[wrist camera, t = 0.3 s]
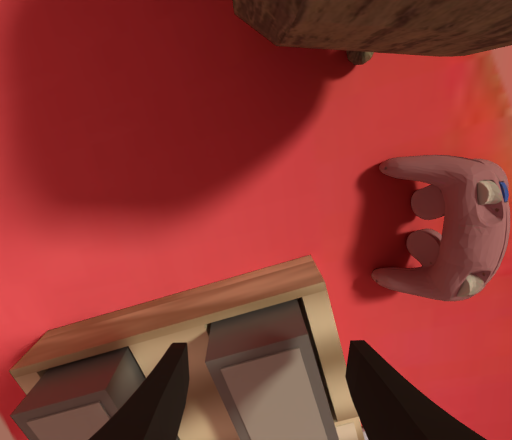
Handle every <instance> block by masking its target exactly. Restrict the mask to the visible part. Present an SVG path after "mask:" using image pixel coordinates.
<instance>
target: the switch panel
mask: <svg viewBox="0 0 512 440" xmlns="http://www.w3.org/2000/svg"><path fill="white" fill-rule="evenodd" d="M293 299H297V301H298V304H299V307H300V310H301V314H302V317H303V320H304V323H305V326H306V330H307V333H308V336H309V339H310V343H311V346H312V350H313V353H314V356H315V360H316V363H317V367H318V370H319V373H320V377H321V380H322V384H323V387H324V390H325V394H326V397H327V401H328V404H329V407H330V411H331V414H332V418H333V421H334V424H335V428H336V431H337V435H338V438H339V440H365V439H364V435H363V431H362V427H361V423H360V419H359V416H358V414H357V411H356V409H355V406H354V404H353V402H352V398H351V395H350V392H349V388H348V385H347V381H346V378H345V375H346V364H345V360H344V356H343V352H342V348H341V344H340V340H339V336H338V332H337V328H336V324H335V320H334V316H333V312H332V308H331V304H330V300H329V296H328V292H327V289H326V285H325V281H324V279H323V277H322V275H321V274H320V272H319V270H318V268H317V266H316V264H315V262H314V260H313V259H312V257H311V255H308V256H305V257H301V258H298V259H294V260H291V261H287V262H284V263H280V264H277V265H274V266H270V267H267V268H263V269H260V270H256V271H253V272H249V273H246V274H242V275H239V276H235V277H232V278H229V279H225V280H222V281H218V282H215V283H211V284H208V285H204V286H201V287H197V288H194V289H191V290H187V291H184V292H180V293H177V294H173V295H170V296H166V297H163V298H159V299H156V300H152V301H149V302H146V303H142V304H139V305H135V306H132V307H128V308H125V309H121V310H118V311H114V312H111V313H108V314H104V315H101V316H97V317H94V318H90V319H87V320H83V321H80V322H76V323H73V324H70V325H66V326H63V327H59V328H56V329H52V330H49V331H47V332H46V333H45V334H44V335H43V336H42V337H41V338H40V339H39V340H38V342H37V343H36V344H35V345H34V346H33V347H32V348H31V349H30V350H29V351H28V352H27V353H26V354H25V355H24V356H23V357H22V358H21V359H20V360H19V361H18V362H17V363H16V364H15V365H14V366H13V367H12V368H11V369H10V370H9V372H10V374H11V375H12V376H13V378H14V379H15V380H16V382H17V383H18V384H19V386H20V387H21V388H22V390H23V391H24V392H25V394H26V395H27V394H28V393H29V392H30V391H31V389H32V388H33V387H34V386H35V384H36V383H37V382H38V381H39V380H40V378H41V377H42V376H43V375H44V373H45V372H46V371H47V370H48V369H49V368H52V367H56V366H59V365H63V364H66V363H70V362H73V361H77V360H81V359H84V358H88V357H91V356H95V355H98V354H102V353H105V352H109V351H112V350H116V349H120V348H123V347H127V346H129V348H130V350H131V352H132V353H133V355H134V357H135V359H136V361H137V362H138V364H139V366H140V368H141V370H142V371H143V373H144V375H145V377H146V378H147V376H148V375H149V374H150V373H151V371H152V370H153V369H154V367H155V366H156V365H157V363H158V362H159V361H160V359H161V358H162V357H163V355H164V354H165V352H166V351H167V349H168V348H169V346H170V345H171V344H172V343H180V342H187V347H188V362H189V378H190V380H189V387H188V393H187V399H186V405H185V409H184V413H183V416H182V420H181V424H180V428H179V431H178V437H179V438H180V440H240V438H239V436H238V434H237V432H236V430H235V427H234V425H233V423H232V421H231V419H230V416H229V414H228V412H227V410H226V408H225V405H224V403H223V401H222V399H221V397H220V394H219V392H218V390H217V388H216V386H215V384H214V381H213V379H212V377H211V375H210V373H209V370H208V368H207V366H206V364H205V358H206V352H207V346H208V340H209V334H210V328H211V323H212V322H215V321H219V320H222V319H226V318H230V317H233V316H237V315H240V314H244V313H247V312H251V311H254V310H258V309H262V308H265V307H269V306H272V305H276V304H279V303H283V302H286V301H290V300H293Z"/></svg>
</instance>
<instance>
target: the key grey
mask: <svg viewBox="0 0 512 440" xmlns="http://www.w3.org/2000/svg"><path fill="white" fill-rule="evenodd" d="M205 364H206V366H207V368H208V370H209V373H210V375H211V377H212V379H213V381H214V384H215V386H216V388H217V390H218V392H219V394H220V397H221V399H222V401H223V403H224V405H225V408H226V410H227V412H228V414H229V416H230V419H231V421H232V423H233V425H234V427H235V430H236V432H237V434H238V436H239V438H240V440H339V438H338V435H337V431H336V428H335V424H334V421H333V418H332V414H331V411H330V407H329V404H328V401H327V397H326V394H325V390H324V387H323V384H322V380H321V377H320V373H319V370H318V367H317V363H316V360H315V356H314V353H313V350H312V346H311V343H310V339H309V336H308V333H307V330H306V326H305V323H304V320H303V317H302V314H301V310H300V307H299V304H298V301H297V299H293V300H290V301H286V302H283V303H279V304H276V305H272V306H269V307H265V308H262V309H258V310H254V311H251V312H247V313H244V314H240V315H237V316H233V317H230V318H226V319H222V320H219V321H215V322H212V323H211V328H210V334H209V340H208V346H207V352H206V358H205Z"/></svg>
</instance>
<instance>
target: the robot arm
mask: <svg viewBox="0 0 512 440" xmlns="http://www.w3.org/2000/svg"><path fill="white" fill-rule="evenodd" d="M345 378H346V381H347V385H348V388H349V392H350V395H351V398H352V402H353V404H354V406H355V409H356V411H357V414H358V416H359V418H360V421H361V423H362V426H363V428H362V431H363V435H364V439H365V440H486V439H485V438H483V437H482V436H480V435H479V434H477V433H476V432H474V431H473V430H471V429H470V428H468V427H467V426H465V425H464V424H462V423H461V422H459V421H458V420H456V419H455V418H454V417H452V416H451V415H450V414H448V413H447V412H446V411H444V410H443V409H442V408H440V407H439V406H438V405H436V404H435V403H434V402H432V401H431V400H430V399H429V398H427V397H426V396H425V395H424V394H423V393H421V392H420V391H419V390H418V389H416V388H415V387H414V386H413V385H412V384H411V383H409V382H408V381H407V380H406V379H405V378H404V377H403V376H402V375H400V374H399V373H398V372H397V371H396V370H395V369H394V368H393V367H392V366H391V365H390V364H388V363H387V362H386V361H385V360H384V359H383V358H382V357H381V356H380V355H379V354H378V353H377V352H376V351H375V350H374V349H373V348H372V347H371V346H370V345H368V344H367V343H366V342H365V341H364V340H356V341H350V348H349V354H348V361H347V368H346V375H345ZM189 380H190V378H189V362H188V347H187V342H180V343H172V344H171V345H170V346H169V348H168V349H167V351H166V352H165V354H164V355H163V357H162V358H161V359H160V361H159V362H158V363H157V365H156V366H155V367H154V369H153V370H152V371H151V373H150V374H149V375H148V376H147V378H146V379H145V380H144V381H143V383H142V384H141V385H140V386H139V388H138V389H137V390H136V391H135V392H134V393H133V394H132V396H131V397H130V398H129V399H128V400H127V401H126V403H125V404H124V405H123V406H122V407H121V408H120V409H119V410H118V411H117V412H116V413H115V414H114V415H113V416H112V417H111V418H110V419H109V420H108V421H107V422H106V423H105V424H104V425H103V426H102V427H101V428H100V429H99V430H98V431H97V432H96V433H95V434H94V435H93V436H92V437H91V438H90V439H88V440H176V439H177V435H178V431H179V428H180V424H181V420H182V416H183V413H184V409H185V405H186V399H187V393H188V387H189Z"/></svg>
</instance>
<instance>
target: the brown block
mask: <svg viewBox="0 0 512 440" xmlns="http://www.w3.org/2000/svg"><path fill="white" fill-rule="evenodd" d="M145 379H146V377H145V375H144V373H143V371H142V370H141V368H140V366H139V364H138V362H137V361H136V359H135V357H134V355H133V353H132V352H131V350H130V348H129V346H127V347H123V348H120V349H116V350H112V351H109V352H105V353H102V354H98V355H95V356H91V357H88V358H84V359H81V360H77V361H73V362H70V363H66V364H63V365H59V366H56V367H52V368H49V369H48V370H47V371H46V372H45V373H44V375H43V376H42V377H41V378H40V380H39V381H38V382H37V383H36V384H35V386H34V387H33V388H32V389H31V391H30V392H29V393H28V394H27V395H26V397H25V398H24V399H23V400H22V402H21V403H20V404H19V405H18V406H17V408H16V409H15V410H14V411H13V413H12V414H11V415H10V416H11V418H12V419H13V420H14V421H15V423H16V424H17V425H18V426H19V428H20V429H21V430H22V431H23V433H24V434H25V435H26V436H27V438H28V439H29V440H88V439H90V438H91V437H92V436H93V435H94V434H95V433H96V432H97V431H98V430H99V429H100V428H101V427H102V426H103V425H104V424H105V423H106V422H107V421H108V420H109V419H110V418H111V417H112V416H113V415H114V414H115V413H116V412H117V411H118V410H119V409H120V408H121V407H122V406H123V405H124V404H125V403H126V401H127V400H128V399H129V398H130V397H131V396H132V394H133V393H134V392H135V391H136V390H137V389H138V388H139V386H140V385H141V384H142V383H143V381H144V380H145ZM176 440H180V438H179V437H178V435H177V439H176Z"/></svg>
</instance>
